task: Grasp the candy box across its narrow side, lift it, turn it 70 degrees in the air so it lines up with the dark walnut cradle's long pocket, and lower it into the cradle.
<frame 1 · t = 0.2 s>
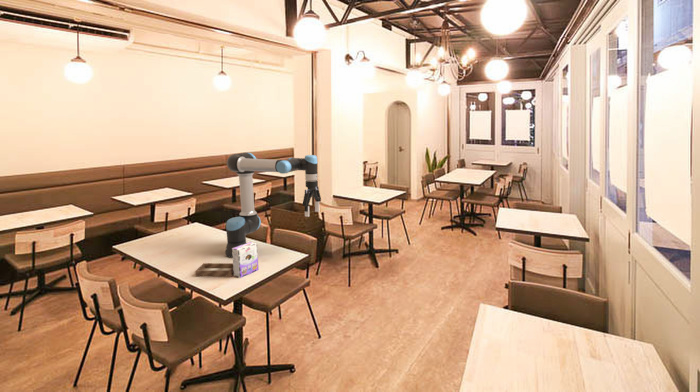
hand: (312, 214, 247), 28 cm above the table, fingers open, 13 cm apart
cradle: (217, 272, 227), on the table
candy box: (246, 273, 226), on the table
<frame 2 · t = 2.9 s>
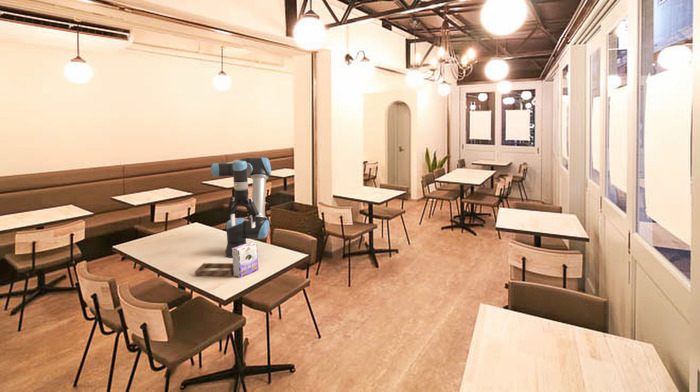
hand: (243, 226, 221), 27 cm above the table, fingers open, 13 cm apart
nothing on the table moved.
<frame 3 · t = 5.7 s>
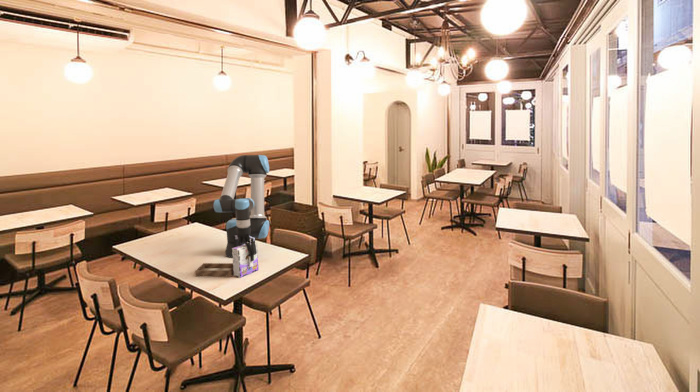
hand: (245, 265, 225), 5 cm above the table, fingers closed on candy box, 7 cm apart
candy box: (246, 273, 226), on the table, touching gripper
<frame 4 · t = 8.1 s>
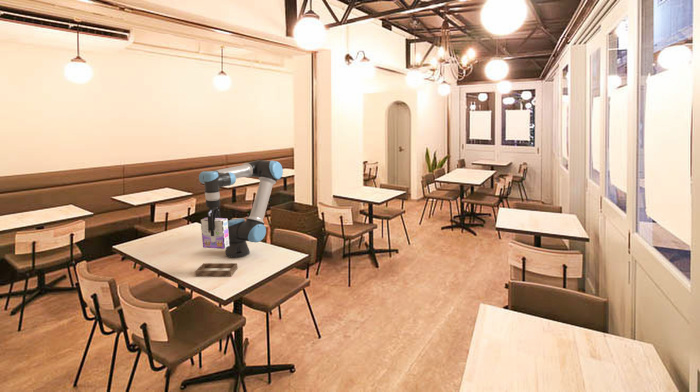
hand: (215, 239, 223), 20 cm above the table, fingers closed on candy box, 7 cm apart
candy box: (216, 247, 224), point 15 cm above the table, touching gripper
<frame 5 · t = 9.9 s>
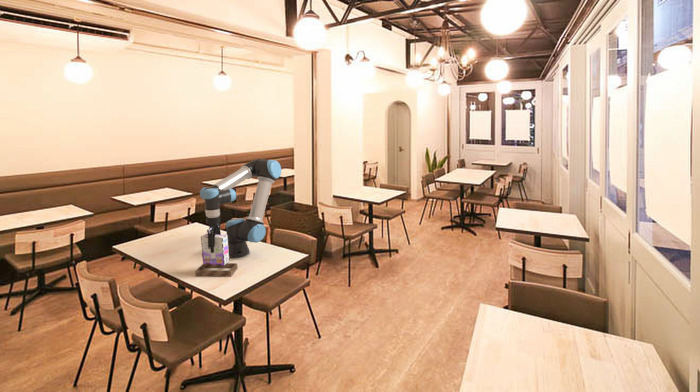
hand: (215, 255, 225), 10 cm above the table, fingers closed on candy box, 7 cm apart
candy box: (216, 263, 226), point 6 cm above the table, touching gripper
when the fingers open (7 cm above the table, at t = 10.9 s): candy box drops 2 cm, resting on cradle.
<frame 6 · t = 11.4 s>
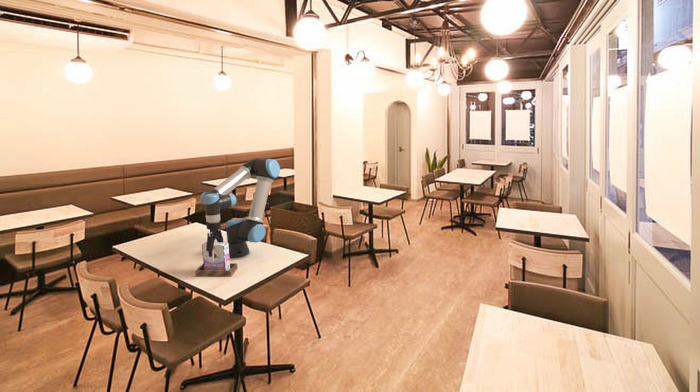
hand: (216, 257, 225), 9 cm above the table, fingers open, 13 cm apart
candy box: (217, 271, 227), point 1 cm above the table, touching cradle
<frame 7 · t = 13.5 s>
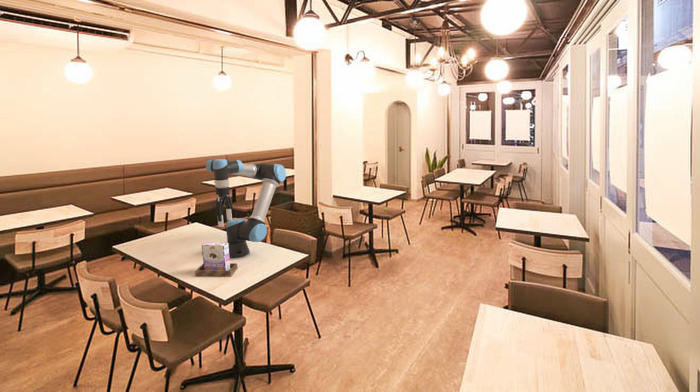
hand: (225, 223, 227), 28 cm above the table, fingers open, 13 cm apart
nothing on the table moved.
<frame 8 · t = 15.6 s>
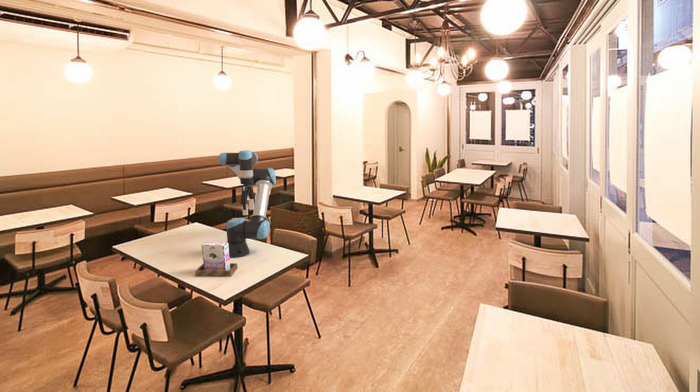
hand: (248, 212, 236), 32 cm above the table, fingers open, 13 cm apart
nothing on the table moved.
at the end: candy box 0.4 cm from the cradle (horizontally); candy box tilted 0°; the gripper is holding nothing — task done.
